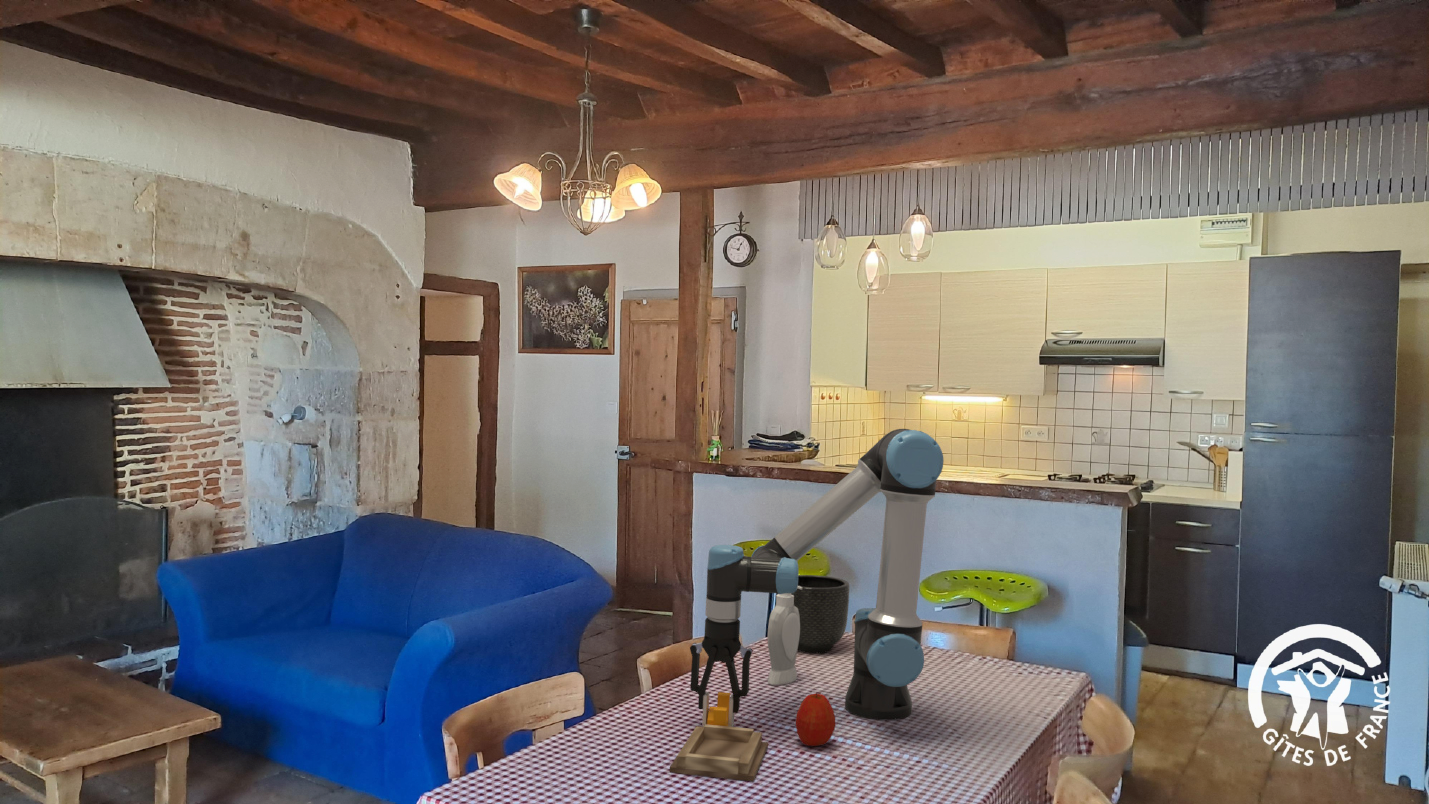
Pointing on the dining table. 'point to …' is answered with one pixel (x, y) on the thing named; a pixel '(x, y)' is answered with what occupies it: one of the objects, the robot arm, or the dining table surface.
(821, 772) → the dining table surface
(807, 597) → the planter
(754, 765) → the tray
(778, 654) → the soap bottle
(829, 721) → the apple
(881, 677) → the robot arm
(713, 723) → the orange stepped block
